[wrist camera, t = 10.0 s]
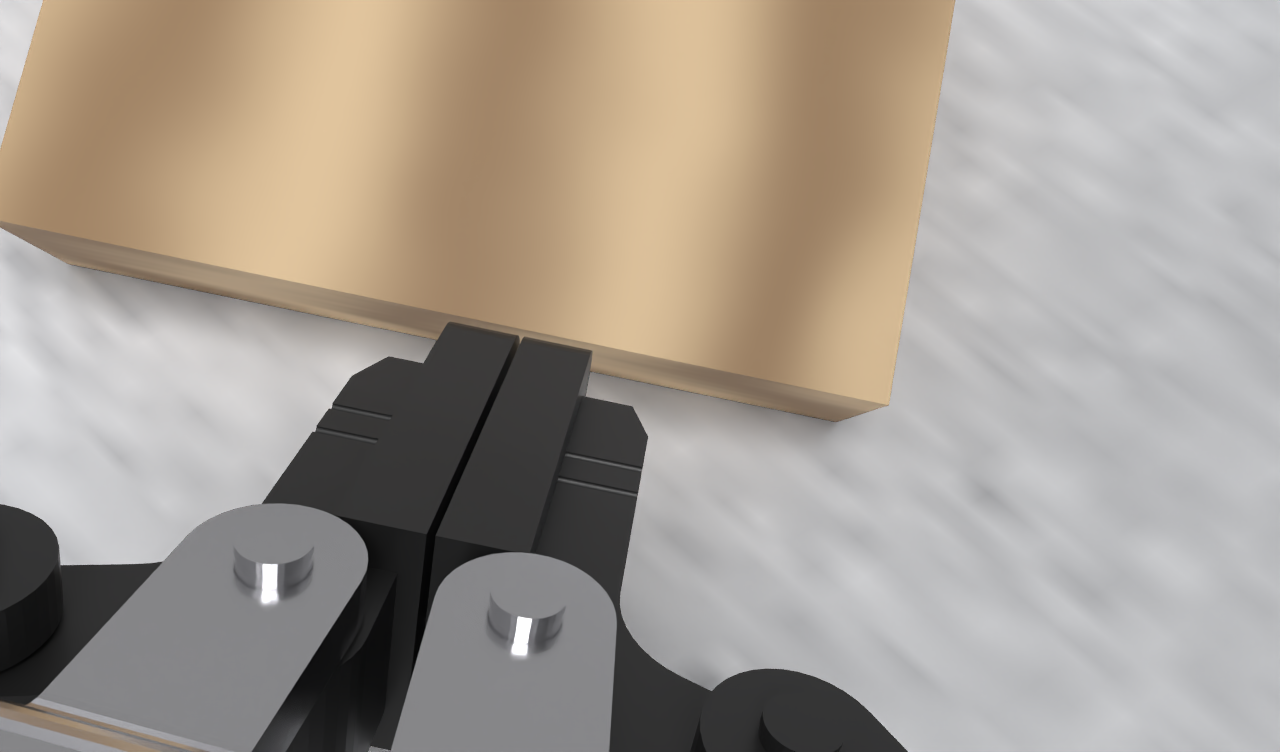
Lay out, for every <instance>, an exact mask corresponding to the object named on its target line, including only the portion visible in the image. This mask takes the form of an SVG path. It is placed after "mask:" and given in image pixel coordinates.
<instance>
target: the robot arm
mask: <svg viewBox="0 0 1280 752" xmlns="http://www.w3.org/2000/svg"><path fill="white" fill-rule="evenodd" d="M592 353H593V351H592V350H588V349H583V348H578V347H573V346H568V345H563V344H559V343H554V342H549V341H544V340H539V339H534V338H530V337H523V339H522V341H521V343H520V338H519V335H514V334H509V333H504V332H499V331H495V330H490V329H485V328H480V327H475V326H470V325H466V324H461V323H456V322H448V323H447V325H446V326H445V328H444V330H443V331H442V333H441V335H440V336H439V338H438V340H437V341H436V343H435V345H434V346H433V348H432V350H431V351H430V353H429V355H428V356H427V358H426V360H425V361H424V363H418V362H413V361H408V360H404V359H399V358H394V357H387V358H385V359H383V360H381V361H379V362H377V363H375V364H374V365H372V366H370V367H368V368H366V369H364V370H362V371H360V372H358V373H357V374H355V375H353V376H352V377H351V378H350V379H349V381H348V382H347V384H346V385H345V387H344V388H343V389H342V391H341V392H340V394H339V395H338V396H337V398H336V399H335V401H334V402H333V405H332V409H328V411H327V412H326V413H325V415H324V416H323V418H322V419H321V421H320V422H319V423H318V425H317V428H316V432H312V433H311V435H310V436H309V438H308V439H307V440H306V442H305V443H304V445H303V446H302V448H301V449H300V450H299V452H298V453H297V455H296V456H295V457H294V459H293V460H292V462H291V463H290V465H289V466H288V467H287V469H286V470H285V472H284V473H283V474H282V476H281V477H280V479H279V480H278V482H277V483H276V484H275V486H274V487H273V489H272V490H271V491H270V493H269V494H268V496H267V497H266V499H265V500H264V501H263V503H262V504H259V505H251V506H246V507H241V508H237V509H233V510H230V511H227V512H224V513H221V514H219V515H217V516H215V517H213V518H211V519H209V520H207V521H205V522H204V523H202V524H201V525H199V526H198V527H196V528H195V529H194V530H193V531H192V532H191V533H190V534H189V535H187V537H186V538H185V539H184V540H183V541H182V542H181V543H180V544H179V545H178V546H177V547H176V548H175V549H174V551H173V552H172V553H171V554H170V555H169V556H168V557H167V558H166V559H165V560H164V561H163V562H157V563H147V564H122V565H60V553H59V545H58V541H57V537H56V535H55V534H54V532H53V530H52V529H51V528H50V527H49V526H48V525H47V524H46V523H45V522H44V521H43V520H41V519H40V518H38V517H36V516H35V515H33V514H31V513H29V512H26V511H24V510H21V509H19V508H15V507H11V506H6V505H1V504H0V752H368V750H369V747H370V746H373V747H378V748H383V749H388V750H391V752H908V751H907V750H906V749H905V748H904V747H903V746H902V745H901V744H900V743H899V742H898V741H897V740H896V739H895V738H894V737H893V736H892V735H891V734H890V733H889V732H888V731H887V730H886V728H885V727H884V726H883V725H882V724H881V723H880V722H879V721H878V720H877V719H876V718H875V717H874V716H873V715H872V714H871V713H870V712H869V711H868V710H867V709H866V708H865V707H864V706H862V705H861V704H860V703H859V702H858V701H857V700H856V699H854V698H853V697H851V696H850V695H849V694H847V693H846V692H844V691H843V690H841V689H839V688H837V687H835V686H834V685H832V684H830V683H828V682H825V681H823V680H821V679H818V678H816V677H813V676H810V675H807V674H803V673H800V672H795V671H789V670H783V669H759V670H751V671H747V672H743V673H739V674H737V675H734V676H732V677H730V678H728V679H726V680H725V681H723V682H722V683H720V684H719V685H718V686H716V687H715V689H714V690H713V691H710V690H708V689H706V688H704V687H701V686H699V685H697V684H695V683H693V682H691V681H689V680H687V679H685V678H683V677H681V676H679V675H677V674H675V673H673V672H672V671H670V670H668V669H666V668H665V667H664V666H662V665H661V664H659V663H658V662H656V661H655V660H654V659H652V658H651V657H650V656H649V655H648V654H647V653H646V652H645V651H644V650H643V649H642V648H641V647H640V646H639V645H638V644H637V642H636V641H635V640H634V639H633V638H632V636H631V634H630V633H629V631H628V629H627V628H626V626H625V623H624V621H623V618H622V615H621V610H620V591H621V586H622V580H623V575H624V569H625V563H626V558H627V552H628V546H629V541H630V535H631V529H632V524H633V518H634V513H635V507H636V501H637V495H638V490H639V484H640V479H641V472H642V467H643V462H644V456H645V451H646V445H647V439H648V436H647V434H646V432H645V430H644V428H643V426H642V424H641V422H640V420H639V418H638V416H637V414H636V413H635V411H634V409H633V407H632V406H627V405H622V404H618V403H613V402H608V401H603V400H598V399H593V398H589V397H585V396H586V390H587V385H588V379H589V374H590V368H591V362H592Z"/></svg>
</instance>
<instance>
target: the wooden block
mask: <svg viewBox="0 0 1280 752" xmlns="http://www.w3.org/2000/svg"><path fill="white" fill-rule="evenodd" d="M954 5H955V0H43V3H42V6H41V10H40V13H39V17H38V20H37V24H36V27H35V31H34V34H33V38H32V41H31V45H30V48H29V51H28V55H27V58H26V62H25V65H24V69H23V72H22V76H21V79H20V83H19V86H18V90H17V93H16V97H15V100H14V104H13V107H12V110H11V114H10V117H9V121H8V124H7V128H6V131H5V135H4V138H3V142H2V145H1V149H0V227H1V228H2V229H4V230H6V231H8V232H10V233H12V234H14V235H15V236H17V237H19V238H21V239H23V240H25V241H27V242H28V243H30V244H32V245H34V246H36V247H38V248H40V249H41V250H43V251H45V252H47V253H49V254H51V255H53V256H54V257H56V258H58V259H60V260H62V261H64V262H66V263H67V264H71V265H76V266H81V267H86V268H91V269H95V270H100V271H105V272H110V273H115V274H120V275H125V276H129V277H134V278H139V279H144V280H149V281H154V282H159V283H163V284H168V285H173V286H178V287H183V288H188V289H193V290H197V291H202V292H207V293H212V294H217V295H222V296H227V297H231V298H236V299H241V300H246V301H251V302H256V303H261V304H265V305H270V306H275V307H280V308H285V309H290V310H295V311H299V312H304V313H309V314H314V315H319V316H324V317H329V318H333V319H338V320H343V321H348V322H353V323H358V324H363V325H368V326H372V327H377V328H382V329H387V330H392V331H397V332H402V333H406V334H411V335H416V336H421V337H426V338H431V339H436V340H438V338H439V336H440V335H441V333H442V331H443V330H444V328H445V326H446V325H447V323H448V322H456V323H461V324H466V325H470V326H475V327H480V328H485V329H490V330H495V331H499V332H504V333H509V334H514V335H519V338H520V343H521V341H522V339H523V337H530V338H534V339H539V340H544V341H549V342H554V343H559V344H563V345H568V346H573V347H578V348H583V349H588V350H592V351H593V353H592V362H591V368H590V371H591V372H596V373H601V374H606V375H610V376H615V377H620V378H625V379H630V380H635V381H640V382H644V383H649V384H654V385H659V386H664V387H669V388H674V389H678V390H683V391H688V392H693V393H698V394H703V395H708V396H713V397H717V398H722V399H727V400H732V401H737V402H742V403H747V404H751V405H756V406H761V407H766V408H771V409H776V410H781V411H785V412H790V413H795V414H800V415H805V416H810V417H815V418H819V419H824V420H829V421H834V422H838V421H841V420H844V419H847V418H851V417H854V416H857V415H860V414H863V413H866V412H869V411H872V410H875V409H878V408H882V407H885V406H888V405H889V401H890V395H891V389H892V382H893V376H894V370H895V364H896V358H897V352H898V346H899V340H900V334H901V328H902V322H903V315H904V309H905V303H906V297H907V291H908V285H909V279H910V273H911V267H912V261H913V254H914V248H915V242H916V236H917V230H918V224H919V218H920V212H921V206H922V200H923V194H924V187H925V181H926V175H927V169H928V163H929V157H930V151H931V145H932V139H933V133H934V126H935V120H936V114H937V108H938V102H939V96H940V90H941V84H942V78H943V72H944V66H945V59H946V53H947V47H948V41H949V35H950V29H951V23H952V17H953V11H954Z"/></svg>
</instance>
